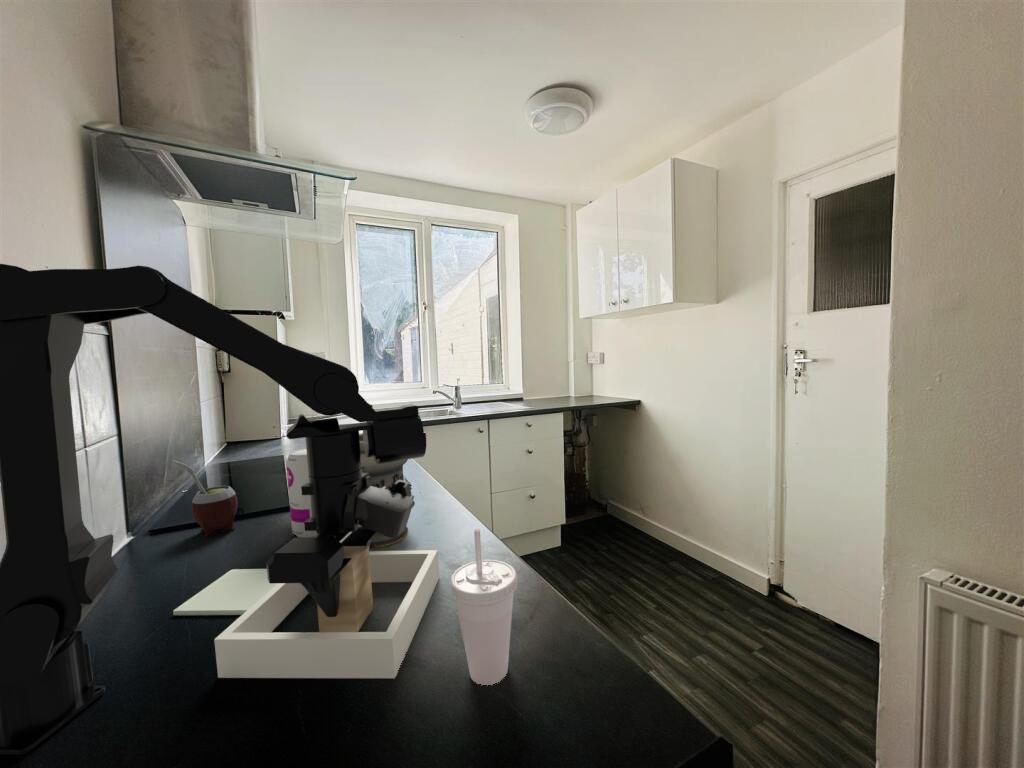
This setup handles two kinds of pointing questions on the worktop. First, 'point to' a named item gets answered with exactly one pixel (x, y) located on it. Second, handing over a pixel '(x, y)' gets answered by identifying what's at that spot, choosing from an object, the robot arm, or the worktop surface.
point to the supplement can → (299, 492)
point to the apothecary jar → (381, 477)
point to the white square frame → (328, 654)
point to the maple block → (351, 594)
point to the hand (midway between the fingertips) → (345, 599)
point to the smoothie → (485, 614)
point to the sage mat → (229, 594)
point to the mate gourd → (213, 506)
